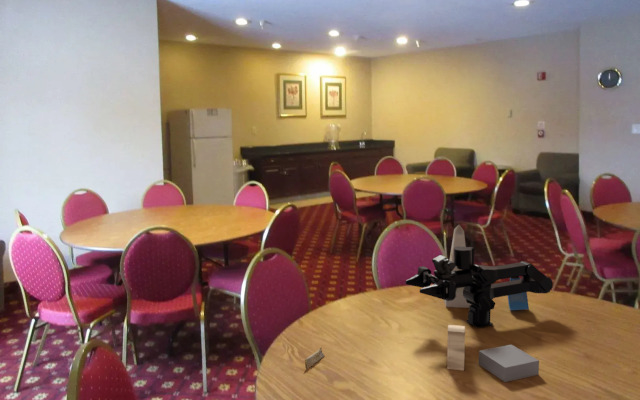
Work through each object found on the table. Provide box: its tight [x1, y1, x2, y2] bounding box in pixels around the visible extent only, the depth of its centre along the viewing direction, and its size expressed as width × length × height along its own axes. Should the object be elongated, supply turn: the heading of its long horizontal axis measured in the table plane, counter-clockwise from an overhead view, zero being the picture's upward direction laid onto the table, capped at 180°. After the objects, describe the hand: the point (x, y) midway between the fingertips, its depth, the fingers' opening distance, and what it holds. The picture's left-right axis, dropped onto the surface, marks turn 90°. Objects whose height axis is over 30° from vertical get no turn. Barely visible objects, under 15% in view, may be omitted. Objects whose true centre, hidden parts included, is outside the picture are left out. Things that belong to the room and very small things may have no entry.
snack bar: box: [304, 346, 325, 370], centre depth 150 cm, size 10×2×3 cm, turn 148°
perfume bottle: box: [507, 276, 530, 311], centre depth 187 cm, size 6×6×12 cm
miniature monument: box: [443, 224, 471, 309], centre depth 194 cm, size 10×10×30 cm
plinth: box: [478, 344, 540, 383], centre depth 143 cm, size 11×11×4 cm
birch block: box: [446, 324, 466, 372], centre depth 145 cm, size 4×4×11 cm
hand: (412, 286), depth 165 cm, fingers open, 9 cm apart
